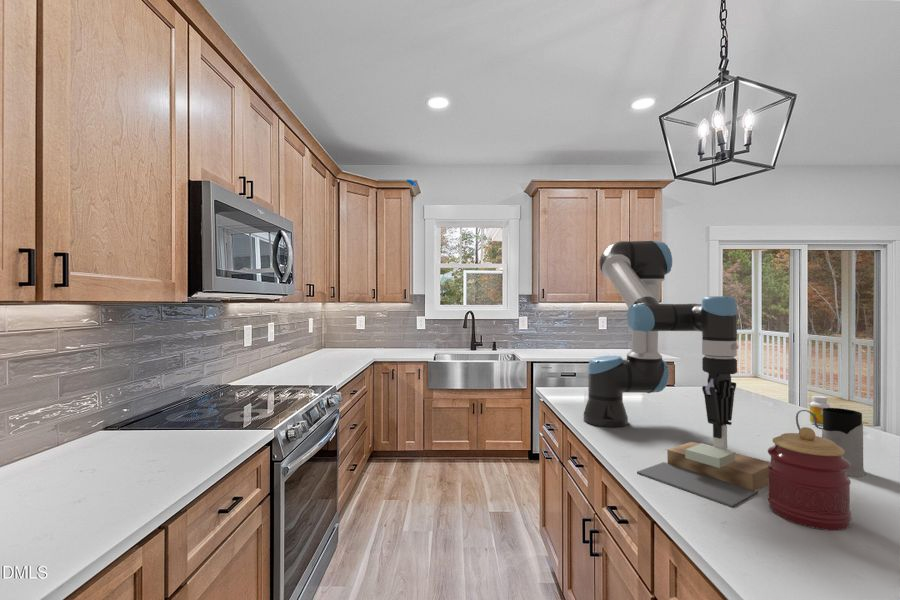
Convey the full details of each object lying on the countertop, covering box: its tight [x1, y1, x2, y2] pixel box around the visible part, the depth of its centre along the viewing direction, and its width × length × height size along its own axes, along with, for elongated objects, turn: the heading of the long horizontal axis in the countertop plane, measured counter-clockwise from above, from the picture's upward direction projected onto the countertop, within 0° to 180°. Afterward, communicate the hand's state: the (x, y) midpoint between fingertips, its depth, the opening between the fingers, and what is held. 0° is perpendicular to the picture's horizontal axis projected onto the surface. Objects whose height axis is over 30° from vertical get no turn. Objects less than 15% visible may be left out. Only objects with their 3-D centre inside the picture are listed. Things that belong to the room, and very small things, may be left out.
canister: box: [767, 426, 852, 531], centre depth 88 cm, size 13×13×18 cm
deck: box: [666, 441, 771, 491], centre depth 111 cm, size 20×12×4 cm, turn 33°
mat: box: [636, 461, 759, 508], centre depth 104 cm, size 22×12×1 cm, turn 33°
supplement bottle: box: [809, 395, 831, 427], centre depth 154 cm, size 5×5×10 cm
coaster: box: [685, 442, 736, 468], centre depth 108 cm, size 8×8×2 cm
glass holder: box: [795, 407, 867, 478], centre depth 115 cm, size 9×14×15 cm, turn 32°
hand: (720, 450), depth 111 cm, fingers closed
